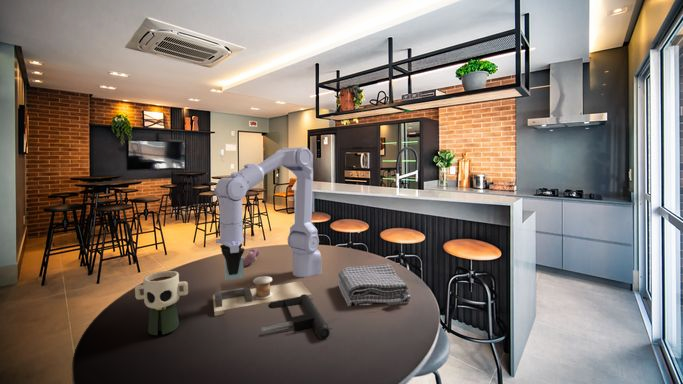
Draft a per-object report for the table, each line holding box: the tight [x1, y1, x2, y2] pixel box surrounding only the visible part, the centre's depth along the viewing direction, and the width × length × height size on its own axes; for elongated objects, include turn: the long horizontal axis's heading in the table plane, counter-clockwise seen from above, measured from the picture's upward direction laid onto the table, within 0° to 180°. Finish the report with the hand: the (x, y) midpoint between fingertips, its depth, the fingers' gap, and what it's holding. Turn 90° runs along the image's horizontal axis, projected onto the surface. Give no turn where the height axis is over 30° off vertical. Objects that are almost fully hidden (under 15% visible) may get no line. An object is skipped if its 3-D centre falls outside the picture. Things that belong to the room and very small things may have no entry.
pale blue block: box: [224, 255, 244, 281], centre depth 84 cm, size 4×3×6 cm, turn 114°
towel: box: [337, 263, 412, 307], centre depth 91 cm, size 15×18×8 cm
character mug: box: [134, 270, 189, 336], centre depth 72 cm, size 11×7×13 cm, turn 104°
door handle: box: [258, 294, 333, 340], centre depth 76 cm, size 3×20×16 cm
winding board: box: [212, 275, 313, 317], centre depth 89 cm, size 26×11×6 cm, turn 114°
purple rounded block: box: [243, 247, 261, 268], centre depth 121 cm, size 10×5×7 cm, turn 0°
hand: (232, 272), depth 84 cm, fingers closed on pale blue block, 3 cm apart
